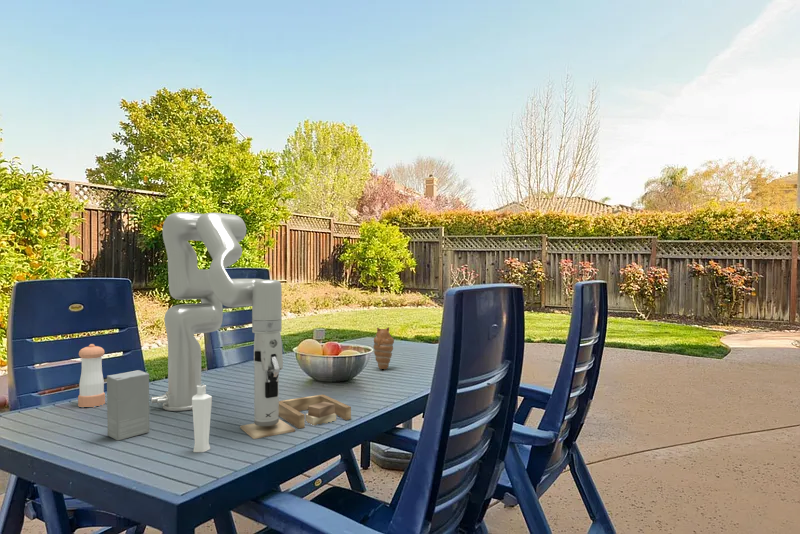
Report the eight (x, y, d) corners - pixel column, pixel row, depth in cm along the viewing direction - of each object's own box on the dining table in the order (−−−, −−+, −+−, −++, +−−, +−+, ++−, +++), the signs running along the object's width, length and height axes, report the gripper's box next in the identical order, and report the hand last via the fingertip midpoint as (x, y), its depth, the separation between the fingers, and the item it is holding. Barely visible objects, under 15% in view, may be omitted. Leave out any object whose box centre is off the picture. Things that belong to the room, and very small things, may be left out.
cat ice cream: (375, 372, 214) (375, 328, 214) (370, 369, 222) (370, 326, 222) (396, 370, 217) (396, 327, 217) (390, 367, 225) (390, 326, 225)
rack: (299, 428, 138) (298, 415, 138) (274, 413, 153) (274, 401, 153) (350, 419, 146) (350, 406, 146) (323, 405, 161) (323, 394, 161)
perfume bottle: (214, 446, 124) (214, 383, 124) (208, 452, 120) (208, 387, 120) (195, 446, 124) (195, 383, 124) (188, 452, 120) (188, 387, 120)
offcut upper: (319, 417, 141) (319, 408, 141) (308, 415, 143) (308, 406, 143) (334, 412, 145) (334, 404, 145) (323, 410, 148) (323, 401, 148)
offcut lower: (313, 427, 141) (313, 418, 141) (305, 422, 145) (305, 413, 145) (336, 423, 144) (336, 414, 144) (328, 418, 149) (328, 410, 149)
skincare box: (138, 428, 139) (138, 369, 139) (151, 433, 134) (151, 372, 134) (104, 436, 132) (104, 374, 132) (116, 442, 128) (116, 377, 128)
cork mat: (253, 439, 129) (253, 436, 129) (240, 428, 139) (240, 425, 139) (295, 431, 135) (295, 429, 135) (279, 421, 145) (279, 419, 145)
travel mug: (273, 427, 133) (273, 349, 133) (249, 425, 135) (250, 348, 135) (283, 420, 140) (283, 345, 140) (261, 418, 141) (261, 345, 141)
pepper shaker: (79, 404, 165) (79, 343, 165) (105, 401, 168) (105, 342, 168) (77, 409, 158) (77, 346, 158) (104, 406, 161) (104, 344, 162)
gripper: (292, 328, 132) (292, 399, 132) (269, 322, 147) (269, 386, 146) (264, 330, 128) (264, 403, 128) (242, 324, 142) (242, 389, 142)
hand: (266, 393), depth 137 cm, fingers closed on travel mug, 6 cm apart
